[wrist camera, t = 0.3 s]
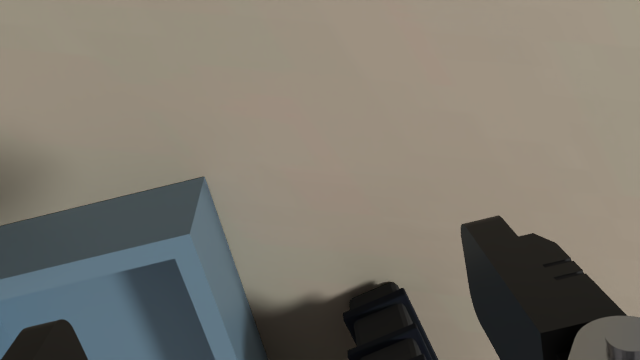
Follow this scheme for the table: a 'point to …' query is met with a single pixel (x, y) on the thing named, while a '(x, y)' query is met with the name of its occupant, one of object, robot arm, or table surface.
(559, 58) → the table surface
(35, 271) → the bin
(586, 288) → the robot arm
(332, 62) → the table surface
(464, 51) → the table surface
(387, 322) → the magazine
